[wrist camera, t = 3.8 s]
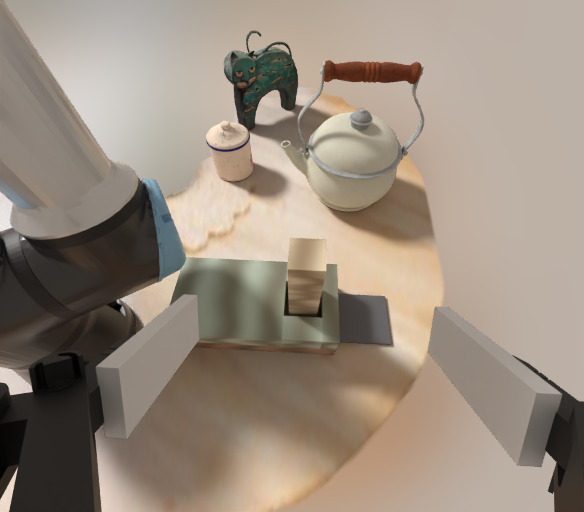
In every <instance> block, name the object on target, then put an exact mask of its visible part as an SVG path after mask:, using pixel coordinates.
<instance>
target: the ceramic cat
mask: <svg viewBox="0 0 584 512" xmlns="http://www.w3.org/2000/svg"><path fill="white" fill-rule="evenodd" d="M252 33H257V34H258V35H259V36H261V34H260V33H259V32H258V31H251V32H250V33H249V34H248V35H247V38H246V45H247V50H248V52H249V53H244V52H241V51H232V52H230V53H229V54H228V55H227V56H226V58H225V60H224V73H225V75H226V77H227V79H228V80H229V81H230V82H231V83H232V84H233V85H234V98H235V105H236V110H237V117H238V121H239V124H241V125H243V126H244V127H245V128H246V129H247V130H250V129H253V128H254V127H255V114H256V110H257V107H258V104H259V102H260V100H261V98H262V97H263V96H265V95H266V94H267V93H269V92H271V91H272V90H278V91H279V92H280V98H281V107H282V108H284V109H285V110H291V109H293V108H294V107H295V101H296V94H297V88H298V74H297V69H296V67H295V64H294V61H293V59H292V55H291V51H290V48H289V46H288V45H287V44H286V43H284V42H275V43H272V44H271V45H269V46H268V47H267V48H265V49H261V50H259V51H257V52H255V53H254V51H251V52H250V51H249V49H248V38H249V36H250V35H251V34H252ZM276 44H279V45H280V44H282V45H285V46H286V47H287V48H288V49H289V53H290V55H289V54H288V53H286V52H285V51H283V50H280V49H279V48H275V47H271V46H273V45H276ZM253 53H254V54H253Z"/></svg>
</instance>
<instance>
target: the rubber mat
mask: <svg viewBox="0 0 584 512" xmlns="http://www.w3.org/2000/svg"><path fill="white" fill-rule="evenodd" d="M338 304H339V331H340V342H349V343H367V344H385V345H391V337H390V329H389V322H388V315H387V307H386V300H385V296H369V295H349V294H338Z"/></svg>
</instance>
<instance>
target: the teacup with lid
mask: <svg viewBox="0 0 584 512" xmlns="http://www.w3.org/2000/svg"><path fill="white" fill-rule="evenodd" d="M249 139H250V134H249V132H248V130H247V129H246V128H245V127H244V126H243V125H241V124H238V123H234V122H228V121H222V122H221V124H218V125H216V126H214V127H212V128H211V129H210V130H209V131H208V133H207V136H206V142H207V144H208V145H209V148H210V151H211V155H212V158H213V161H214V165H215V168H216V171H217V174H218V175H219V177H221V178H222V179H224V180H226V181H240V180H243V179H245V178H247V177H248V176H249V175H250V174H251V173H252V171H253V161H252V154H251V148H250V141H249Z"/></svg>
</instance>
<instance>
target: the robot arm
mask: <svg viewBox="0 0 584 512" xmlns="http://www.w3.org/2000/svg"><path fill="white" fill-rule="evenodd" d="M0 192H1V193H3V194H4V195H5V196H6V197H7V198H8V199H9V200H10V201H11V202H13V205H12V210H11V215H10V223H11V226H12V227H13V228H10V229H7V230H5V231H1V232H0V367H4V368H9V369H12V370H13V371H15V372H16V373H17V374H18V375H19V376H21V377H22V378H23V379H24V380H25V381H27V382H28V383H29V384H30V385H31V386H32V390H33V392H30V393H23V394H16V395H10V393H9V388H8V386H7V385H6V383H0V499H1V497H2V495H3V494H4V492H5V490H6V488H7V486H8V484H9V482H10V481H11V479H12V477H13V475H14V473H15V471H16V469H17V468H18V470H17V475H16V480H15V485H14V490H13V495H12V500H11V505H10V510H9V512H102V511H101V499H100V487H99V475H98V463H97V451H96V440H95V432H96V431H97V430H98V429H99V427H100V426H101V425H102V424H104V432H105V437H106V438H120V439H127V438H128V437H129V435H130V434H131V433H132V431H133V430H134V429H135V427H136V426H137V424H138V423H139V422H140V420H141V419H142V418H143V416H144V415H145V413H146V412H147V411H148V409H149V408H150V407H151V405H152V404H153V402H154V401H155V400H156V398H157V397H158V396H159V394H160V393H161V391H162V390H163V389H164V387H165V386H166V385H167V383H168V382H169V380H170V379H171V378H172V376H173V375H174V374H175V372H176V371H177V369H178V368H179V367H180V365H181V364H182V363H183V361H184V360H185V358H186V357H187V356H188V354H189V353H190V352H191V350H192V349H193V347H194V346H195V345H196V343H197V342H198V341H199V325H198V302H197V295H187V294H184V295H182V296H181V297H180V298H179V299H177V300H176V301H175V302H174V303H173V304H171V305H170V306H169V307H168V308H167V309H165V310H164V311H163V312H162V313H160V314H159V315H158V316H157V317H156V318H154V319H153V320H152V321H151V322H150V323H148V324H147V325H146V326H145V327H143V328H142V329H141V330H140V331H139V332H137V333H136V334H135V319H134V316H133V313H132V311H131V309H130V308H129V307H128V305H127V304H126V303H124V302H123V301H122V300H120V298H123V297H125V296H127V295H129V294H132V293H134V292H136V291H138V290H141V289H143V288H145V287H147V286H149V285H152V284H154V283H156V282H160V281H161V280H162V279H163V278H165V277H167V276H168V275H170V274H172V273H174V272H176V271H178V270H180V269H181V268H182V266H183V265H184V264H185V261H186V255H185V251H184V248H183V245H182V242H181V240H180V237H179V234H178V232H177V229H176V227H175V224H174V222H173V219H172V218H171V214H170V212H169V209H168V206H167V204H166V201H165V199H164V196H163V194H162V192H161V190H160V187H159V185H158V183H157V182H156V181H155V180H154V179H142V180H141V181H140V179H139V178H138V176H137V175H136V173H135V171H134V170H133V169H132V168H131V167H130V166H128V165H126V164H123V163H120V162H116V161H113V160H109V159H108V158H107V156H106V155H105V153H104V152H103V150H102V148H101V147H100V146H99V144H98V143H97V141H96V140H95V138H94V136H93V135H92V133H91V132H90V130H89V129H88V127H87V126H86V124H85V123H84V121H83V120H82V118H81V117H80V115H79V114H78V112H77V111H76V109H75V108H74V106H73V105H72V103H71V102H70V100H69V99H68V97H67V96H66V94H65V92H64V91H63V89H62V88H61V86H60V85H59V84H58V82H57V81H56V79H55V77H54V76H53V74H52V73H51V71H50V70H49V68H48V67H47V65H46V64H45V62H44V61H43V59H42V58H41V56H40V55H39V53H38V52H37V50H36V49H35V47H34V46H33V44H32V43H31V41H30V39H29V38H28V36H27V35H26V33H25V32H24V31H23V29H22V28H21V26H20V24H19V23H18V21H17V20H16V18H15V17H14V15H13V14H12V12H11V11H10V9H9V8H8V6H7V5H6V3H5V2H4V0H0ZM134 334H135V335H134ZM428 353H429V354H430V356H431V357H432V358H433V360H434V361H435V362H436V363H437V365H438V366H439V367H440V368H441V370H442V371H443V372H444V373H445V375H446V376H447V377H448V378H449V380H450V381H451V382H452V384H453V385H454V386H455V387H456V389H457V390H458V391H459V392H460V394H461V395H462V396H463V397H464V399H465V400H466V401H467V402H468V404H469V405H470V406H471V408H472V409H473V410H474V411H475V413H476V414H477V415H478V416H479V417H480V419H481V420H482V421H483V423H484V424H485V425H486V426H487V428H488V429H489V430H490V432H491V433H492V434H493V435H494V437H495V438H496V439H497V440H498V441H499V443H500V444H501V445H502V447H503V448H504V449H505V450H506V452H507V453H508V454H509V455H510V457H511V458H512V459H513V461H514V462H515V463H516V464H517V465H520V466H534V467H541V466H542V463H543V459H544V456H545V452H548V454H549V455H550V456H551V457H552V458H553V459H554V460H555V461H556V462H557V463H556V466H555V470H554V473H553V476H552V479H551V482H550V486H549V489H548V492H550V493H552V494H553V492H554V506H555V507H554V508H555V512H584V402H582V401H581V402H579V401H578V400H576V399H575V398H574V397H572V396H571V395H570V394H568V393H567V392H566V391H564V390H563V389H562V388H560V387H559V386H558V385H556V384H555V383H554V382H552V381H551V380H548V378H547V377H546V376H544V375H543V374H542V373H539V372H538V371H537V370H536V369H535V368H534V367H532V366H531V365H530V364H528V363H527V362H525V361H523V360H521V359H519V358H517V357H515V356H513V355H511V354H509V353H508V352H507V351H505V350H504V349H503V348H501V347H500V346H499V345H498V344H496V343H495V342H494V341H492V340H491V339H490V338H488V337H487V336H486V335H485V334H483V333H482V332H481V331H479V330H478V329H477V328H475V327H474V326H473V325H472V324H470V323H469V322H468V321H466V320H465V319H464V318H462V317H461V316H460V315H459V314H457V313H456V312H454V311H453V310H452V309H450V308H449V307H435V310H434V316H433V322H432V328H431V335H430V341H429V347H428Z"/></svg>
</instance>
